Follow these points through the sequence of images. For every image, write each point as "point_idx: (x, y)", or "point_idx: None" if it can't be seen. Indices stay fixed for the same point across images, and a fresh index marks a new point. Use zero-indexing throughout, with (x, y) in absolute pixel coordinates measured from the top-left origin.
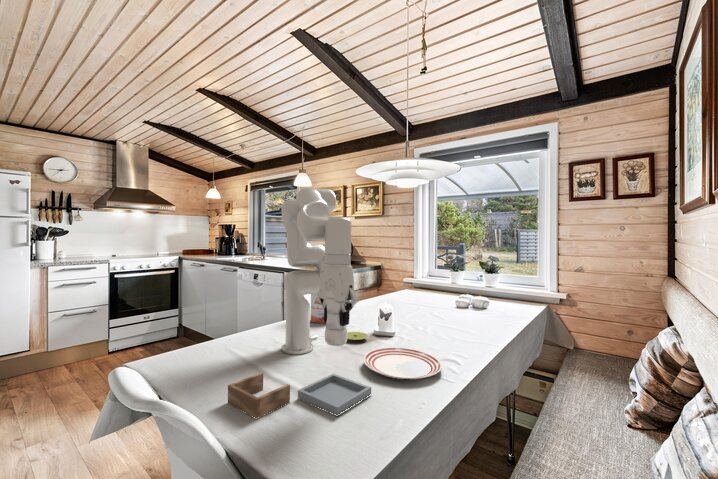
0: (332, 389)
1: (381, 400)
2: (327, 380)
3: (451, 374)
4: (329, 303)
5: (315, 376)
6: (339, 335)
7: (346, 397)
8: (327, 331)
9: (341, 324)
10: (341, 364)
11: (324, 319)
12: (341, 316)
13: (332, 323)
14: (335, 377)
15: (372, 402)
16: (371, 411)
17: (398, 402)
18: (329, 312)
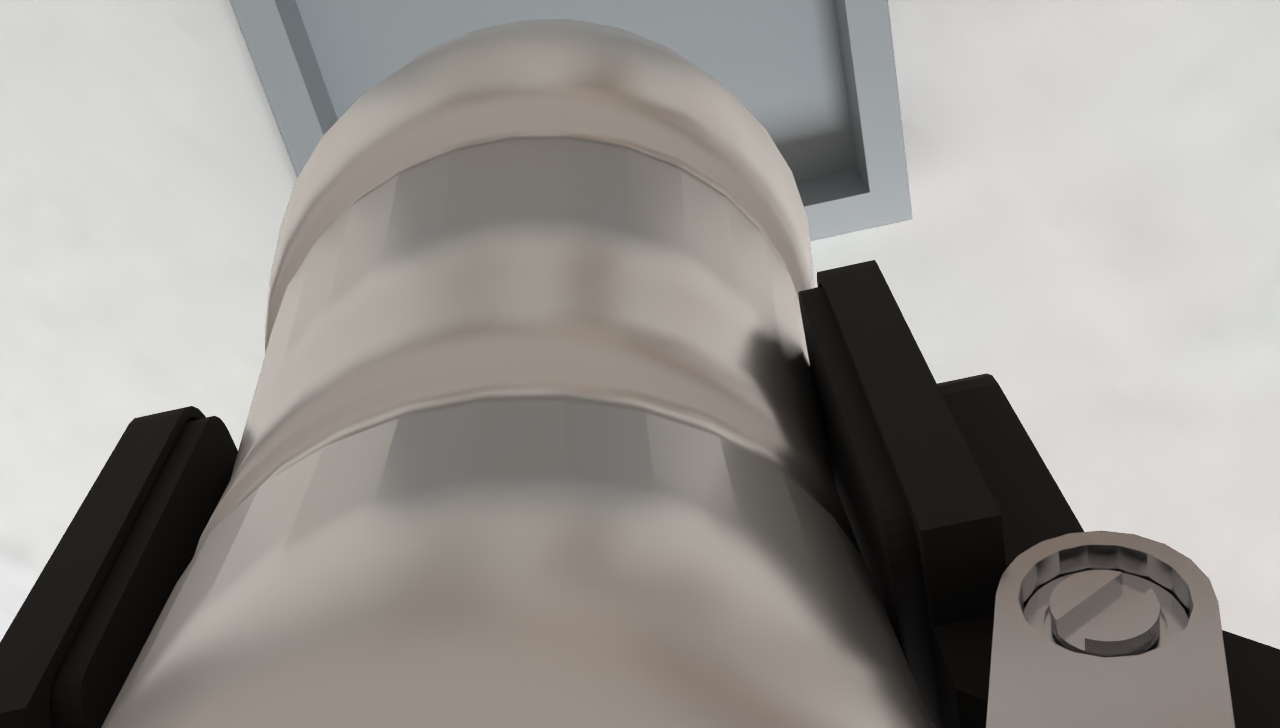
0: (684, 32)
1: (241, 316)
2: (851, 82)
3: None
4: (355, 718)
5: (1137, 93)
6: (278, 258)
7: (430, 47)
8: (539, 102)
9: (142, 430)
10: (1145, 482)
11: (858, 288)
12: (47, 590)
13: (368, 275)
14: (833, 193)
15: (251, 225)
16: (98, 105)
17: (130, 409)
18: (463, 427)
